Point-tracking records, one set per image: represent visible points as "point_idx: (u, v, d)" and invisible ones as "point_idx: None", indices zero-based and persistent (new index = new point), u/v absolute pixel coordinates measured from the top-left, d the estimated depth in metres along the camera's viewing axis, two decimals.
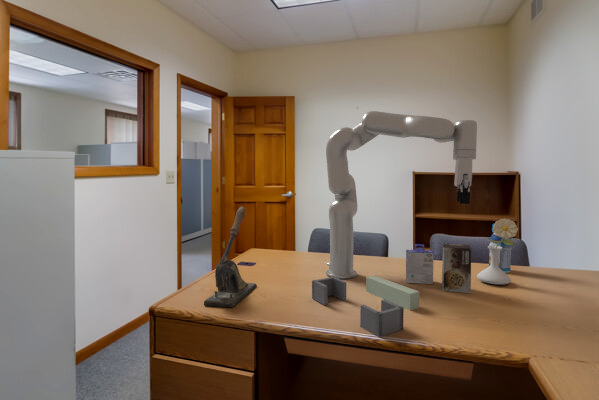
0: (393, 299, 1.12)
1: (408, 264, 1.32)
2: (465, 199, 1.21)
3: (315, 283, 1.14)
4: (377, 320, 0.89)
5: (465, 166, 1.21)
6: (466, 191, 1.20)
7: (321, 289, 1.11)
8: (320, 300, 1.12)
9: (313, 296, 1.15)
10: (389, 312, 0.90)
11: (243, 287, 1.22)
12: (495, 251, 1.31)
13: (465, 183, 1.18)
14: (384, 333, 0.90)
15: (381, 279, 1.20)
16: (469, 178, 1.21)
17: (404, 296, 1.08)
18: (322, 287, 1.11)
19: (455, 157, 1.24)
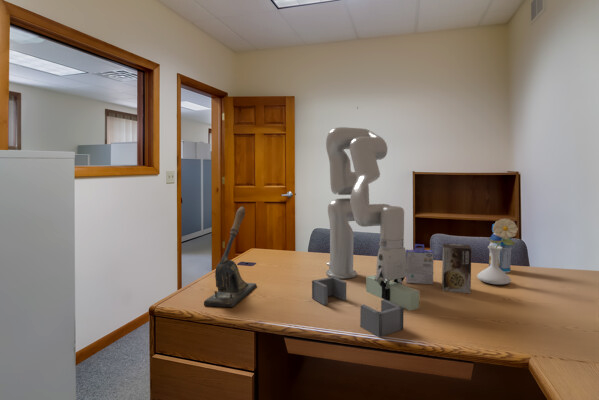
0: (393, 299, 1.12)
1: (408, 264, 1.32)
2: None
3: (315, 283, 1.14)
4: (377, 320, 0.89)
5: None
6: None
7: (321, 289, 1.11)
8: (320, 300, 1.12)
9: (313, 296, 1.15)
10: (389, 312, 0.90)
11: (243, 287, 1.22)
12: (495, 251, 1.31)
13: None
14: (384, 333, 0.90)
15: None
16: None
17: (404, 296, 1.08)
18: (322, 287, 1.11)
19: (403, 247, 1.13)
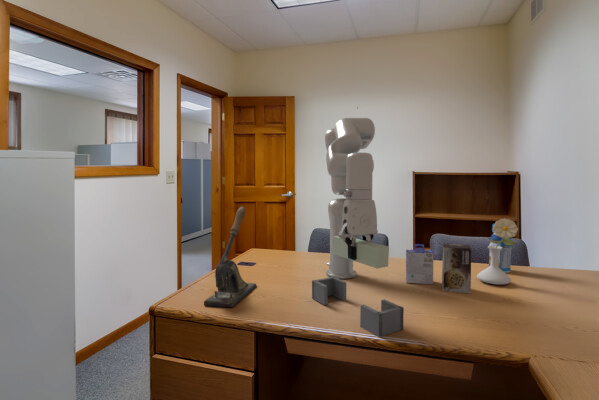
0: (360, 257, 0.98)
1: (408, 264, 1.32)
2: None
3: (315, 283, 1.14)
4: (377, 320, 0.89)
5: None
6: None
7: (321, 289, 1.11)
8: (320, 300, 1.12)
9: (313, 296, 1.15)
10: (389, 312, 0.90)
11: (243, 287, 1.22)
12: (495, 251, 1.31)
13: None
14: (384, 333, 0.90)
15: None
16: None
17: (371, 252, 0.94)
18: (322, 287, 1.11)
19: (371, 198, 0.99)
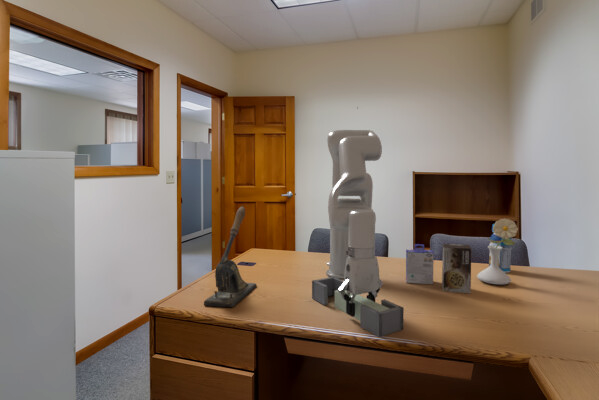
0: None
1: (408, 264, 1.32)
2: None
3: (315, 283, 1.14)
4: (377, 320, 0.89)
5: None
6: None
7: (321, 289, 1.11)
8: (320, 300, 1.12)
9: (313, 296, 1.15)
10: (389, 312, 0.90)
11: (243, 287, 1.22)
12: (495, 251, 1.31)
13: None
14: (384, 333, 0.90)
15: (351, 293, 1.06)
16: None
17: None
18: (322, 287, 1.11)
19: (374, 256, 0.98)
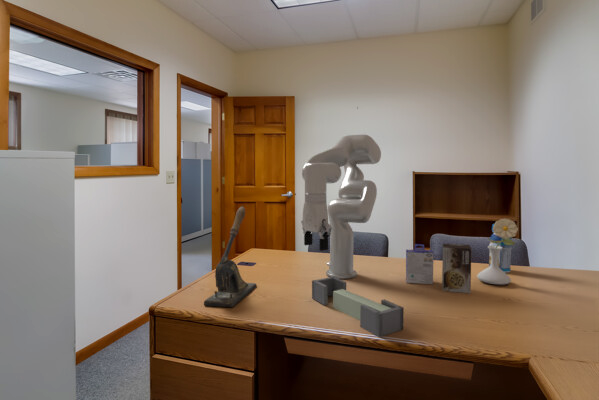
0: None
1: (408, 264, 1.32)
2: (325, 245, 1.17)
3: (315, 283, 1.14)
4: (377, 320, 0.89)
5: (323, 211, 1.16)
6: (326, 237, 1.16)
7: (321, 289, 1.11)
8: (320, 300, 1.12)
9: (313, 296, 1.15)
10: (389, 312, 0.90)
11: (243, 287, 1.22)
12: (495, 251, 1.31)
13: (329, 230, 1.14)
14: (384, 333, 0.90)
15: (350, 294, 1.06)
16: None
17: None
18: (322, 287, 1.11)
19: (311, 201, 1.17)
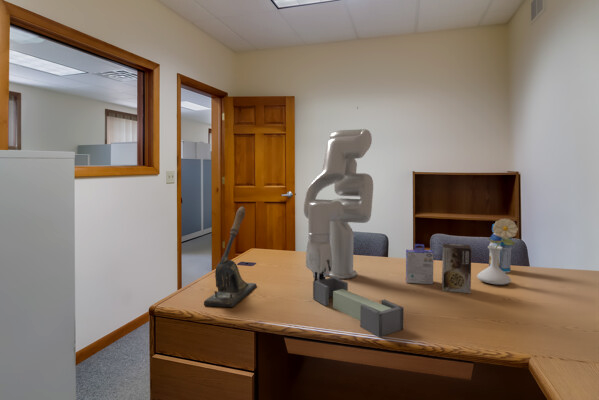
0: None
1: (408, 264, 1.32)
2: None
3: (316, 284, 1.14)
4: (377, 320, 0.89)
5: (327, 252, 1.15)
6: None
7: (322, 290, 1.11)
8: (321, 301, 1.12)
9: (314, 297, 1.15)
10: (389, 312, 0.90)
11: (243, 287, 1.22)
12: (495, 251, 1.31)
13: (325, 276, 1.16)
14: (384, 333, 0.90)
15: (350, 294, 1.06)
16: (329, 270, 1.17)
17: None
18: (323, 288, 1.10)
19: (314, 241, 1.16)
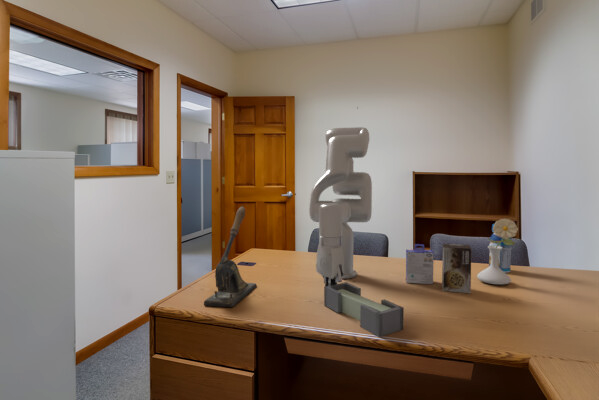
0: None
1: (408, 264, 1.32)
2: None
3: (328, 289, 1.08)
4: (377, 320, 0.89)
5: (339, 256, 1.09)
6: (334, 284, 1.13)
7: (334, 296, 1.05)
8: (333, 308, 1.06)
9: (325, 303, 1.09)
10: (389, 312, 0.90)
11: (243, 287, 1.22)
12: (495, 251, 1.31)
13: None
14: (384, 333, 0.90)
15: (350, 294, 1.06)
16: (341, 275, 1.11)
17: None
18: (336, 294, 1.04)
19: (326, 245, 1.10)
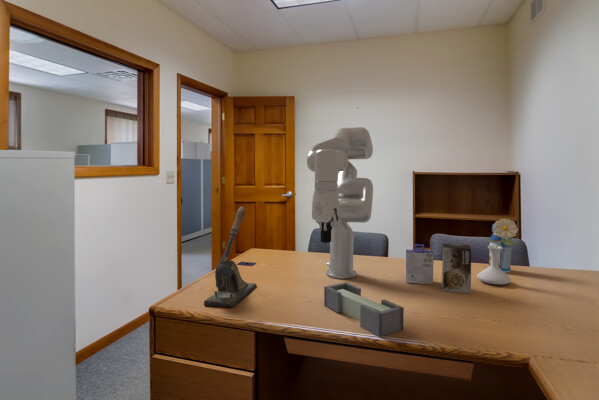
0: None
1: (408, 264, 1.32)
2: (328, 238, 1.14)
3: (328, 289, 1.08)
4: (377, 320, 0.89)
5: (334, 200, 1.10)
6: (330, 229, 1.14)
7: (334, 296, 1.05)
8: (333, 308, 1.06)
9: (325, 303, 1.09)
10: (389, 312, 0.90)
11: (243, 287, 1.22)
12: (495, 251, 1.31)
13: (332, 226, 1.11)
14: (384, 333, 0.90)
15: (350, 293, 1.06)
16: None
17: None
18: (336, 294, 1.04)
19: (321, 189, 1.11)
